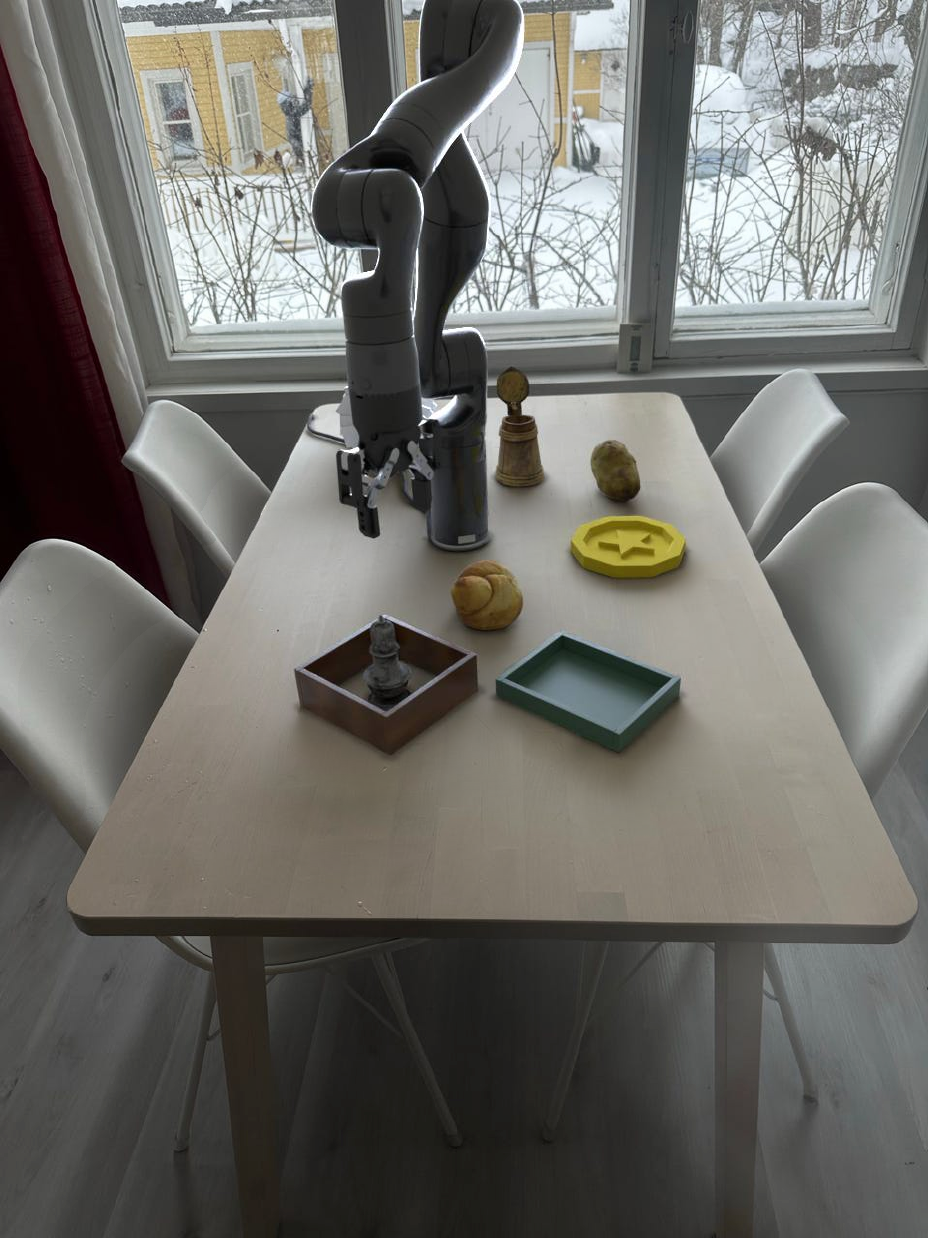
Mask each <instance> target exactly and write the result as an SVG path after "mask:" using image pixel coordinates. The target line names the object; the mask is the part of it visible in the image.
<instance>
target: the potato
mask: <svg viewBox="0 0 928 1238" xmlns="http://www.w3.org/2000/svg"><path fill="white" fill-rule="evenodd" d="M589 463H590V471H591V473H592V475H593V477H594V479H595V481H596V485H597V488H598V490H599V491H600V492H601V493H602V494H603V495H604V496H606V497H608V498H610V499H611V500H615V501H621V502H627V501H632V500H633V499H635V498H636V497H637V496H638V494H639V492H640V491H641V486H642V485H641V478H640V477H641V476H640V473H639V470H638V466H637V465H638V464H637V460H636V459H635V457H634V455H633V454H631V453H630V452H629V449H628V447H627V446H626V444H625V443H623V442H621V441H618V440H615V439H607V440H605V441H603V442H600V443H598V444H596V445H595V446H594V448H593V450H592V452H591V456H590V462H589Z"/></svg>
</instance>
